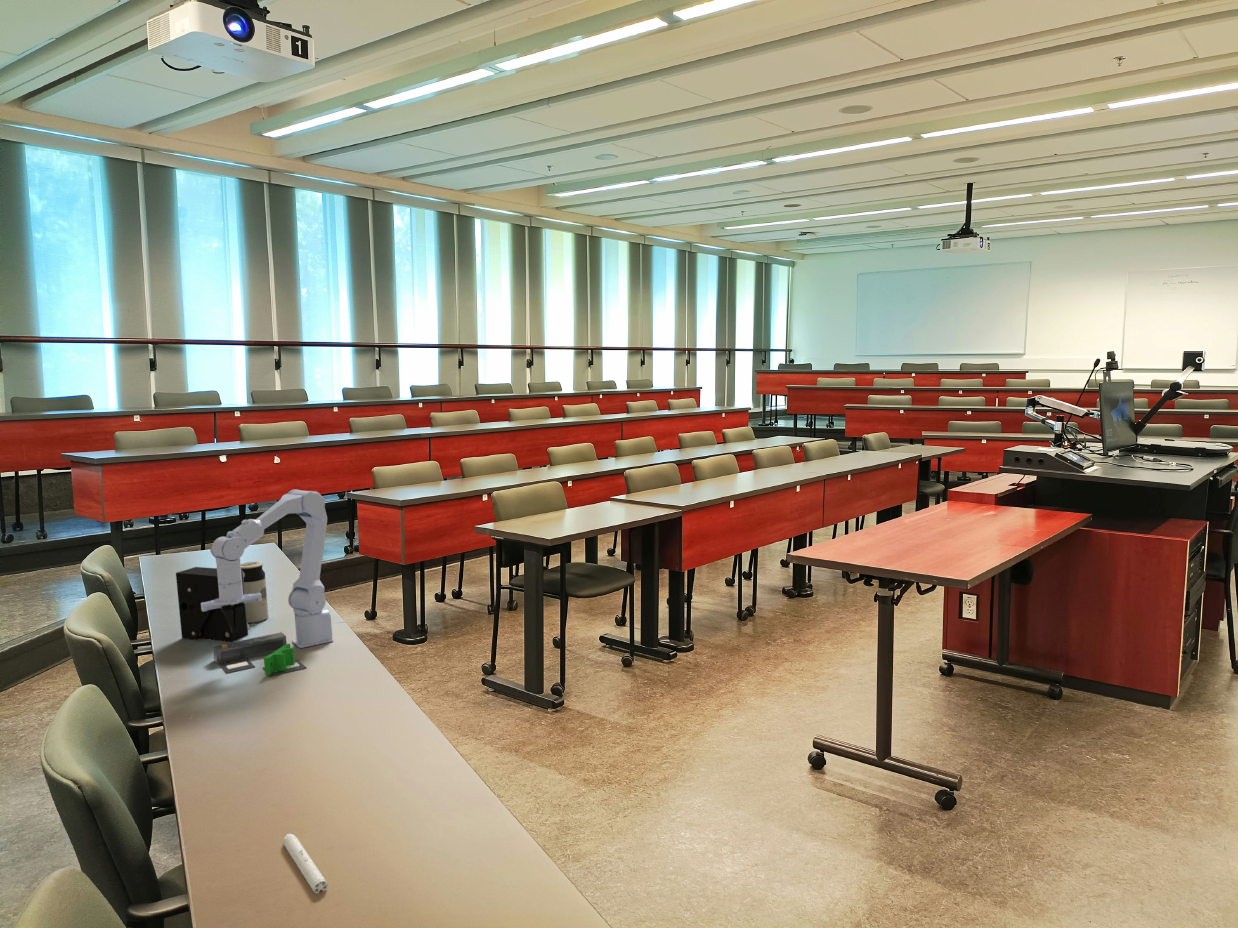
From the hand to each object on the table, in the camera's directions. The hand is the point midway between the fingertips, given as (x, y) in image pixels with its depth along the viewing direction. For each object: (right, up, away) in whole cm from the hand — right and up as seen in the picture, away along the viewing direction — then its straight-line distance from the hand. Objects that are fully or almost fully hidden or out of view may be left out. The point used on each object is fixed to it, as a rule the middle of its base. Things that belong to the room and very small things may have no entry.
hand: (234, 632), depth 221 cm
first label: (0, -9, +1) cm, 9 cm away
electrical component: (-18, -7, +27) cm, 33 cm away
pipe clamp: (+13, -9, -2) cm, 16 cm away
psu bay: (0, -8, +10) cm, 13 cm away
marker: (+52, -19, -89) cm, 105 cm away
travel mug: (-13, -5, +43) cm, 45 cm away
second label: (+14, -9, -1) cm, 17 cm away
